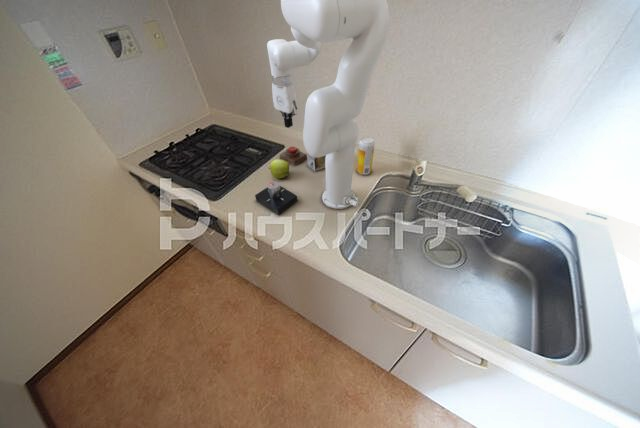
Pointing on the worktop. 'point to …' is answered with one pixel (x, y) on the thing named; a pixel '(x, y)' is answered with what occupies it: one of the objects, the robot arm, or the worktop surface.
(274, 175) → the apple
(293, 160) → the switch block
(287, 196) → the plate
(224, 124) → the worktop surface
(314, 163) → the coffee box
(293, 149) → the drain button
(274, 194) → the tap knob
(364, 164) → the beer can
